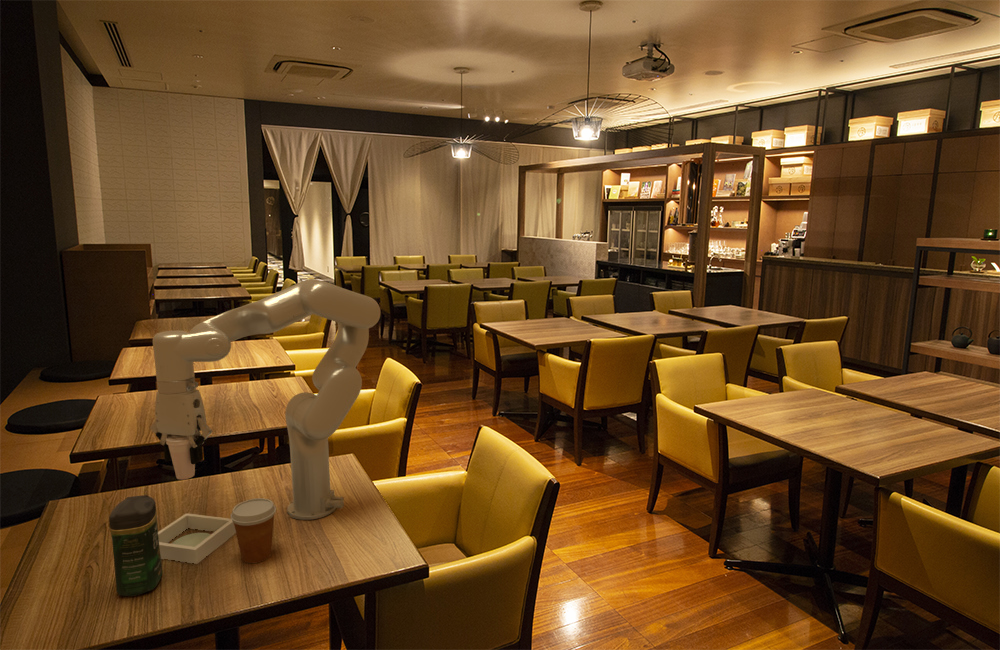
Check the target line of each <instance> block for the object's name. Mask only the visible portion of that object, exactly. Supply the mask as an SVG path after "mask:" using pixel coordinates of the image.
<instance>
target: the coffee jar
mask: <svg viewBox="0 0 1000 650" xmlns="http://www.w3.org/2000/svg"><path fill="white" fill-rule="evenodd" d="M108 520H109V524H108V525H109V526H108V527H109V531H110V537H111V543H112V553H113V555H112V556H113V561H114V562H113V563H114V576H115V577H114V578H115V579H114V580H115V588H116V590H115V591H116V593H117V595H118V596H123V597H124V596H125V597H135V596H140V595H143V594H144V593H147V592H151V591H153V590H154V589H155V588H156V587H157V585H158V584H159V582H160V580H161V578H162V575H163V564H162V559H161V555H160V547H159V538H158V532H159V530H158V512H157V505H156V500H155V499H154V498H153V497H151V496H149V495H147V494H144V495H136V496H135V495H134V496H127V497H126V498H125V499H123V500H122V501H120V502H119V503H117V505H116V506H115V507H114V508H113V509H112V511H111V512H110V514H109V516H108Z"/></svg>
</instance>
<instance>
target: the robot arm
mask: <svg viewBox="0 0 1000 650" xmlns="http://www.w3.org/2000/svg"><path fill="white" fill-rule="evenodd" d="M312 315H315V316H318V317H321V318H324V319H326V320H330V321H332V322H336V323H337V332H336V335H335V337H334V340H333V341H332V343H331V344H330V346H329V348H328V349H327V351H326V352H325V354H324V355H323V356H322V358H321V360H320V361H319V362H318V364H317V366H316V367H315V369H314V371H313V372H312V375H311V376H312V377H311V380H312V383H313V385H314V387H315V388H316V389H317V390H318V393H317V394H314V393H312V392H307V391H306V392H299V393H297V394H295V395H294V396H292V397H291V398H290V399H289V401H288V402H287V405H286V407H285V413H284V415H285V424H286V427H287V428H286V429H287V434H288V440H289V453H290V468H291V484H292V485H291V486H292V501H291V502H290V503H289V504H288V505H287V514H288V516H289V517H291V518H293V519H296V520H302V521H308V520H309V521H310V520H311V521H312V520H317V519H320V518H324V517H327V516H329V515H331V514H332V513H333V512H335V510H337V509H343V507H344V504H345V503H344V497H343V496H336V495H335V489H331V478H330V477H331V476H330V474H331V473H330V457H329V456H330V455H329V454H330V453H329V437H331V436H333V435H334V433H335V432H337V429H338V428H339V427H340V426H341V424H342V422H343V421H344V420H345V418H346V416H347V415H348V413H349V412H350V410H351V409H352V407H353V405H354V404H355V402H356V401H357V399H358V397H359V396H360V393H361V391H362V387H363V386H362V385H363V380H362V375H361V373H360V371H359V370H358V369H357V368H356V367H357V366H358V364H359V363H360V361H361V359H362V357H363V356H364V354H365V352H366V351H367V348H368V344H369V337H370V336H369V335H370V333H369V332H370V330H369V329H370V328H373V327H374V326H375V325H376V324H377V323H378V322H379V320H380V318H381V308H380V305H379V304H378V302H377V300H376V299H374V298H373V297H370V296H368V295H365V294H362V293H359V292H355V291H352V290H349V289H346V288H343V287H341V286H338V285H335V284H333V283H330V282H328V281H325V280H320V279H315V278H310V279H306V280H302V281H299V282H297V283H295V284H293V285H290V286H289V287H287V288H284V289H282V290H279V291H277V292H275V293H273V294H271V295H268V296H267V297H264V298H262V299H259V300H257V301H253V302H251V303H247V304H245V305H242V306H239V307H236V308H233V309H229V310H227V311H225V312H222V313H219V314H217V315H215V316H213V317H211V318H208V319H206V320H204V321H201V322H199V323H198V324H196V325H194V326H193V327H192V328H191V329H190V330H189V332H188V331H186V330H179V329H178V330H167V331H166V330H165V331H160V332H158V333H155V335H154V336H153V337H152V349H153V357H154V358H153V359H154V368H155V375H156V376H155V378H156V385H157V387H156V388H157V391H156V395H155V401H154V402H155V403H154V404H155V405H154V410H155V411H154V413H155V415H154V417H155V421H154V422H152V424H151V426H150V427H149V428H150V430H151V431H152V432H153V434H155V436H156V438H157V439H158V440H159V441H160V445H162V446H163V457H164V461H165V462H167V463H168V462H170V461H172V458H171V454H170V450H169V446H168V445H167V444H166V438H167V437H168V436H170V435H179V436H187V437H188V439H189V442H190V444H191V446H192V447H191V448H190V459H191V464H195V465H196V464H198V463H199V462H202V461H203V458H204V456H203V455H204V454H203V444H204V443H205V441H206V440H207V439H208V438H209V436H211V435H212V433H213V430H212V428H211V427H210V426H209V425H208V424H207V416H206V410H205V406H204V401H203V398H202V394H201V392H200V389H197V388H198V387H199V382H198V381H196V380H195V379H196V376H195V368H194V362H195V363H197V362H198V363H213V362H218V361H221V360H223V359H225V358H226V357H227V356H228V355H229V354H230V352H231V349H232V342H235V341H238V340H239V339H242V338H245V337H248V336H253V335H266V334H272V333H276V332H278V331H280V330H283V329H285V328H287V327H288V326H291V325H293V324H295V323H297V322H299V321H301V320H304V319H306V318H308V317H310V316H312ZM194 435H195V436H196V438H197V440H195V438H194Z"/></svg>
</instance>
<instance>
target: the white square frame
mask: <svg viewBox="0 0 1000 650" xmlns="http://www.w3.org/2000/svg"><path fill="white" fill-rule="evenodd" d="M188 528H191V529H190V530H195V529H198V530H197V531H203V530H205V532H211V531H213V532H212V533H211V534H210V536H209V537H207V538H206V539H205V540H203V541H202V542H201V543H199V544H198V545H197V546H195V547H192V546H184V545H177V544H172V543H170V542H171V541H172V539H173V540H174V539H176V538H177V537H178V536H180V535H182V532H183V531H184V532H185V530H186V529H187V530H189V529H188ZM187 530H186V531H187ZM184 532H183V533H184ZM179 534H180V535H179ZM234 535H236V530H235V526H234V522H233V521H232V519H231V518H229V517H221V516H220V517H219V516H212V515H211V516H210V515H203V514H195V513H188V512H187V513H184V514H183V515H181V516H179V518H177V519H175V520H174V521H172V522H171V523H169V524H168V525H166V526H165V527H163V528H161V529H160V530H158V538H159V547H160V555H161V560H164V559H168V560H167V561H171V560H175V561H174V562H178V561H180V563H185V562H187V563H186V564H192V563H194V564H193V565H198V564H199V563H201V562H202V561H203V560H204V559H205V558H207V557H208V556H209V555H211V553H213V552H214V551H215V550H217V549H218V548H219V547H220V546H222V545H224V543H226V542H227V541H228V540H229V539H231V538H232V537H233V536H234ZM176 536H177V537H176ZM175 537H176V538H175ZM206 556H207V557H206Z"/></svg>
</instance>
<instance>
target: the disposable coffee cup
mask: <svg viewBox="0 0 1000 650" xmlns="http://www.w3.org/2000/svg"><path fill="white" fill-rule="evenodd" d="M231 511H232V512H231V513H230V519H232V521H233V522H234V526H235V530H236V534H235V535H236V539H237V543H238V548H239V552H240V556H241V560H242V561H243V562H244V563H247V564H255V563H260V562H263V561H265V560H267V559H269V558H270V557H271V555H272V549H273V536H274V533H273V532H274V524H275V523H274V519H275V515H276V511H277V507H276V505H275V504H274V501H273V500H271V499H268V498H263V497H262V498H261V497H260V498H250V499H247V500H244V501H241V502H238V503H237V504H236V505H234V507H233V508H232V510H231Z"/></svg>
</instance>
